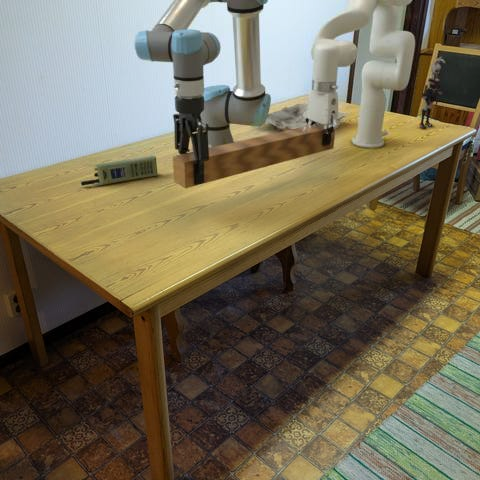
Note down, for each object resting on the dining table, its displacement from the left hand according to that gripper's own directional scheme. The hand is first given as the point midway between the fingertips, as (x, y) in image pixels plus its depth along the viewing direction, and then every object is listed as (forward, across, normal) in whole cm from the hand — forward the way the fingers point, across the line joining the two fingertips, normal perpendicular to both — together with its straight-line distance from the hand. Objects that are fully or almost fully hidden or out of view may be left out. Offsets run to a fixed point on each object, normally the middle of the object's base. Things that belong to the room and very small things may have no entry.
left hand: (192, 179), depth 140 cm
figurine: (+11, -13, +129) cm, 130 cm away
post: (+1, 0, +25) cm, 25 cm away
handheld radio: (+11, -35, -6) cm, 37 cm away
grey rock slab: (+11, -44, +83) cm, 95 cm away
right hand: (-1, 0, +49) cm, 49 cm away
